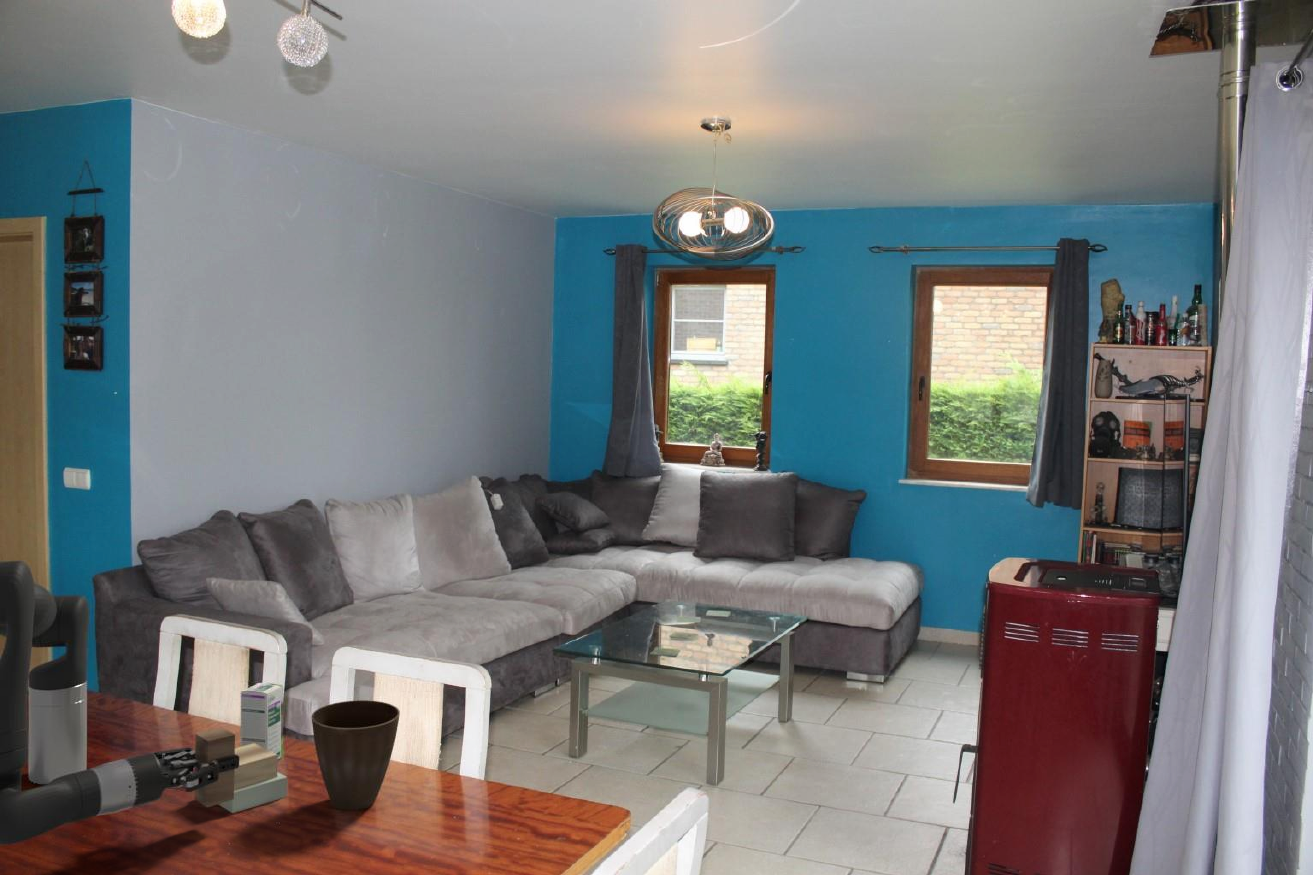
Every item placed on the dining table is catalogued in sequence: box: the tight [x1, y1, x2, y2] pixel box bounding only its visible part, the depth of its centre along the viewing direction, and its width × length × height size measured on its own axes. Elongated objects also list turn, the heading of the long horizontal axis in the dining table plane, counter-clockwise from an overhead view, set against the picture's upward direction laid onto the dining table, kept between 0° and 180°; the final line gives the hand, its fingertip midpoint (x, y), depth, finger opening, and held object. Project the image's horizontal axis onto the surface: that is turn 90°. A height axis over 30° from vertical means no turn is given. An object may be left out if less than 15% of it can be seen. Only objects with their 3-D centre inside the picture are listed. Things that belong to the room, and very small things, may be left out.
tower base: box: [218, 771, 288, 814], centre depth 183 cm, size 10×10×4 cm
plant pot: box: [311, 699, 401, 811], centre depth 182 cm, size 15×15×16 cm
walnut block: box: [193, 727, 236, 808], centre depth 170 cm, size 4×4×11 cm
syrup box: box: [240, 682, 284, 760], centre depth 200 cm, size 6×6×14 cm
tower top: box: [234, 743, 279, 790], centre depth 183 cm, size 8×8×4 cm
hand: (230, 756), depth 172 cm, fingers closed on walnut block, 4 cm apart
